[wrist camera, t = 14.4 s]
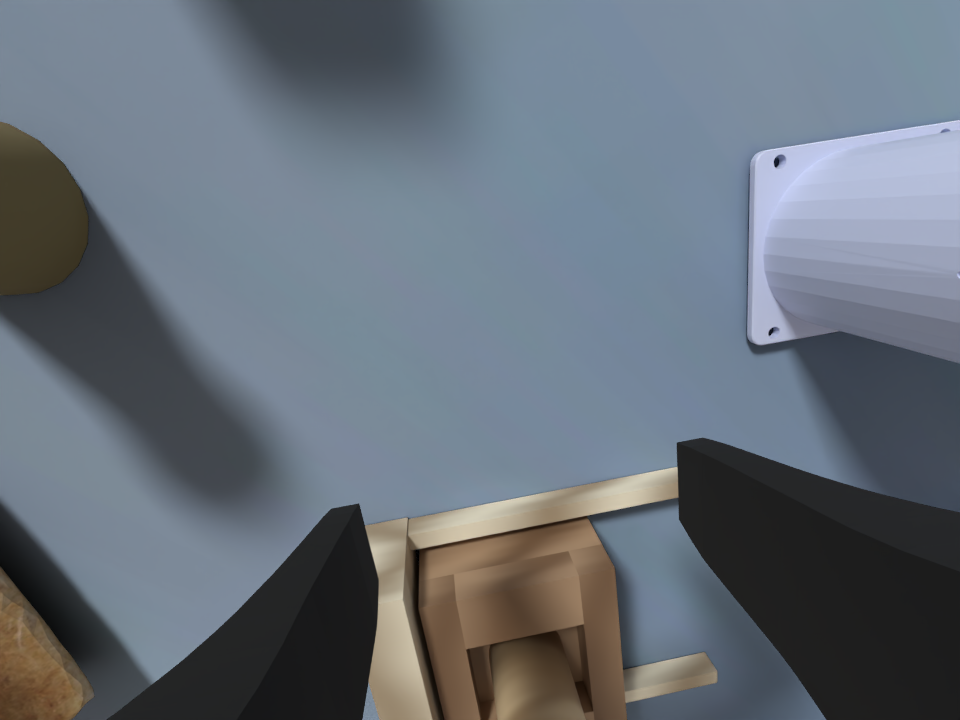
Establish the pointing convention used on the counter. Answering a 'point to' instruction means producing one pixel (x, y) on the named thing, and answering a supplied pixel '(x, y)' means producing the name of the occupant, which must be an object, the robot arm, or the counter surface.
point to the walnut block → (522, 612)
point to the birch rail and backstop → (400, 636)
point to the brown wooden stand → (35, 664)
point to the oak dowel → (533, 679)
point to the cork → (37, 216)
